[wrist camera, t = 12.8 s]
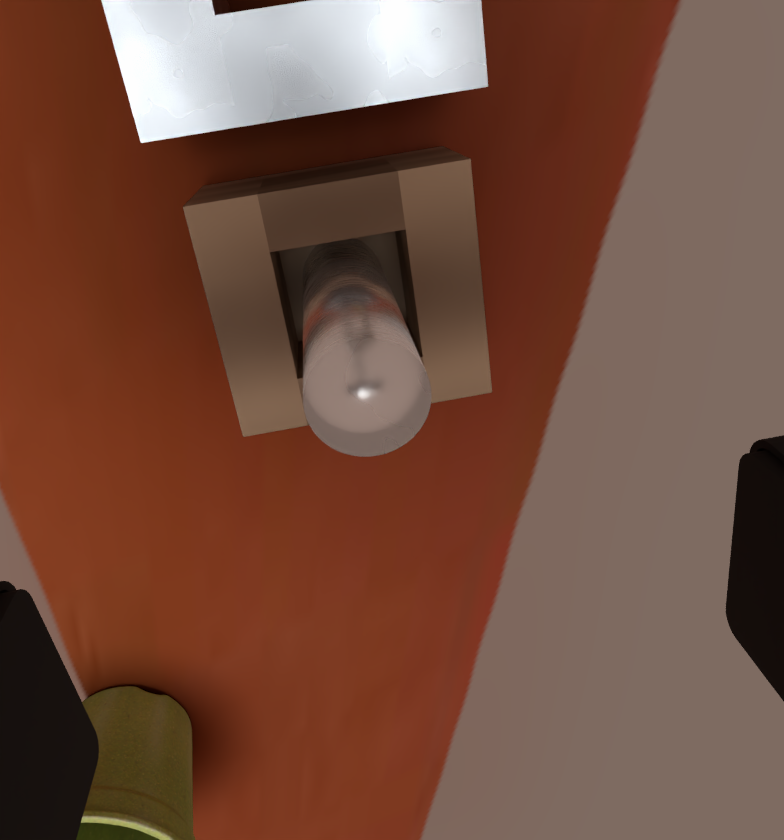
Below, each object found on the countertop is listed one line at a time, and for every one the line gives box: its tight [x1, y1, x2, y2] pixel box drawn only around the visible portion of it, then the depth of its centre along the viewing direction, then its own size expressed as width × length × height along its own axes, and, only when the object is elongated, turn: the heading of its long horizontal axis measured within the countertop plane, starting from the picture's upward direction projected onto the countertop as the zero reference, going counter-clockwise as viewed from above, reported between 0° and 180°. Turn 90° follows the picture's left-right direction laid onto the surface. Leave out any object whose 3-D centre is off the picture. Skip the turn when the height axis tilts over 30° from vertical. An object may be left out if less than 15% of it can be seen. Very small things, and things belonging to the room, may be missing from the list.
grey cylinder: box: [303, 238, 431, 457], centre depth 22 cm, size 3×3×12 cm
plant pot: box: [76, 686, 195, 840], centre depth 34 cm, size 9×9×9 cm
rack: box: [183, 146, 492, 437], centre depth 26 cm, size 8×9×5 cm
